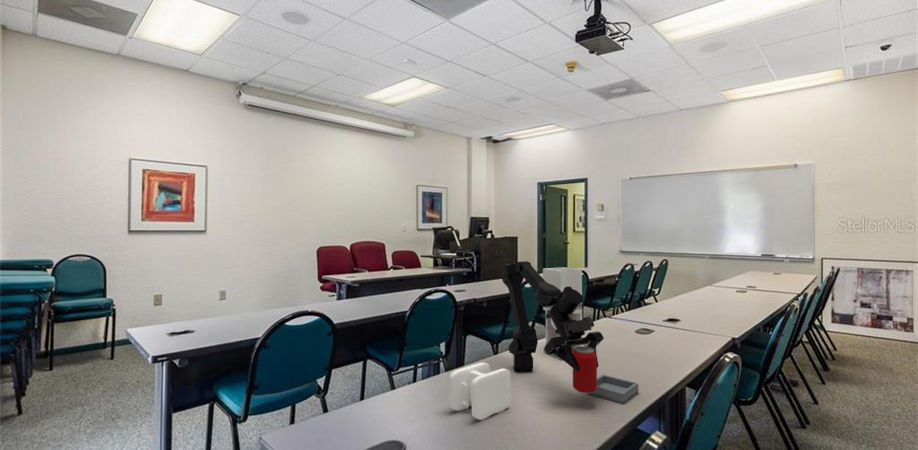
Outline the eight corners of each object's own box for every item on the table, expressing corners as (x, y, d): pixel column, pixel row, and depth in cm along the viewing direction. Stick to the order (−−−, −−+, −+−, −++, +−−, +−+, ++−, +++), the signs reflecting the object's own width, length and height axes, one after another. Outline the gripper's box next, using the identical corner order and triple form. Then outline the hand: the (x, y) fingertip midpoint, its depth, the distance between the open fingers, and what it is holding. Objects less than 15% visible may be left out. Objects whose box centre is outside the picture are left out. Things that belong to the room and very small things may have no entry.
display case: (543, 352, 173) (542, 268, 173) (564, 349, 178) (563, 267, 178) (561, 360, 163) (560, 271, 163) (582, 356, 167) (581, 269, 168)
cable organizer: (473, 425, 110) (473, 381, 110) (447, 412, 118) (447, 370, 118) (511, 408, 120) (511, 368, 120) (485, 397, 127) (484, 359, 128)
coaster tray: (586, 393, 130) (586, 384, 130) (602, 383, 138) (602, 374, 138) (623, 404, 122) (623, 394, 122) (638, 392, 130) (638, 383, 130)
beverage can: (598, 387, 124) (598, 347, 124) (595, 396, 117) (595, 353, 117) (574, 384, 126) (574, 344, 126) (570, 392, 120) (570, 350, 120)
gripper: (550, 310, 122) (575, 359, 112) (599, 305, 129) (627, 350, 119) (534, 331, 129) (557, 378, 119) (582, 325, 137) (607, 369, 126)
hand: (588, 368), depth 121 cm, fingers closed on beverage can, 7 cm apart
